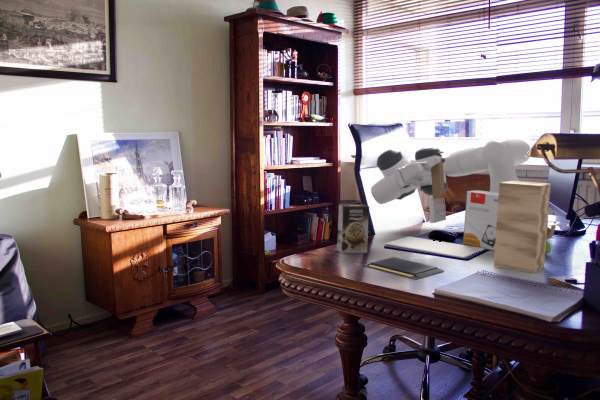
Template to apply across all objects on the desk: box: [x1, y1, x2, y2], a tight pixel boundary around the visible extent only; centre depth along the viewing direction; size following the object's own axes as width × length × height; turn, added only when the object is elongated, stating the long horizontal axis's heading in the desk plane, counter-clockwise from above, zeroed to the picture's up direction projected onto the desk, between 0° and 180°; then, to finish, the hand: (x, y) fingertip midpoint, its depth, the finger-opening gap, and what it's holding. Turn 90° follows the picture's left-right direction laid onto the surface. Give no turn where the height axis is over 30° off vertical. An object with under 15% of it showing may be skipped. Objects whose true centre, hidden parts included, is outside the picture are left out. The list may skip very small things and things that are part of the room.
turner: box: [428, 159, 447, 224], centre depth 177 cm, size 9×21×3 cm
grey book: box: [362, 256, 445, 281], centre depth 157 cm, size 20×2×15 cm
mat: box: [384, 235, 485, 259], centre depth 188 cm, size 18×30×1 cm, turn 50°
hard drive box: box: [462, 189, 499, 252], centre depth 189 cm, size 16×8×20 cm, turn 41°
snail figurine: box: [545, 221, 557, 256], centre depth 178 cm, size 5×6×12 cm
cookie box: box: [336, 203, 370, 255], centre depth 178 cm, size 9×6×16 cm
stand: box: [493, 180, 552, 274], centre depth 161 cm, size 10×12×26 cm
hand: (442, 159), depth 175 cm, fingers open, 3 cm apart
